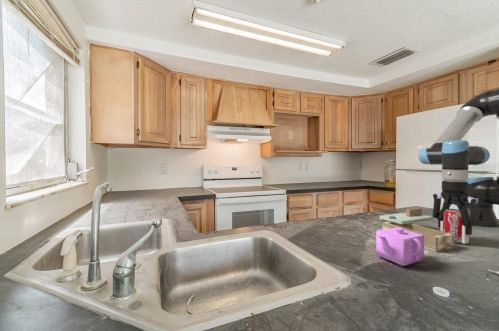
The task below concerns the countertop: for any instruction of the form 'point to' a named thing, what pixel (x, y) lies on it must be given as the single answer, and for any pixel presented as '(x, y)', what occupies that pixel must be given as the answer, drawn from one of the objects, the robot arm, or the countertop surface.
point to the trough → (426, 235)
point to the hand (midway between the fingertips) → (454, 239)
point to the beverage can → (453, 224)
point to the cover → (407, 216)
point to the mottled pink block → (400, 246)
